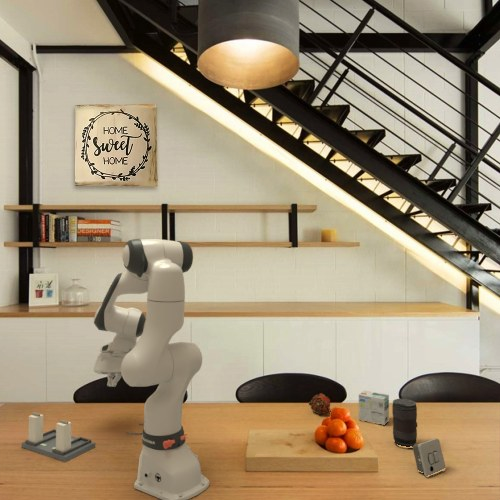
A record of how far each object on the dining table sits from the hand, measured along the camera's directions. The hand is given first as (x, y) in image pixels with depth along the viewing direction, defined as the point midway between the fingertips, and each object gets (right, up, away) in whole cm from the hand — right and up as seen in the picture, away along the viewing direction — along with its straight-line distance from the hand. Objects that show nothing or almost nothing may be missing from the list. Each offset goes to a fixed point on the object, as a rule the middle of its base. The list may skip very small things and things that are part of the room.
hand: (111, 386), depth 155 cm
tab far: (-23, -16, -10) cm, 30 cm away
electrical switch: (+106, -19, -25) cm, 110 cm away
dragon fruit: (+81, -19, +25) cm, 86 cm away
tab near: (-10, -16, -16) cm, 25 cm away
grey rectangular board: (-15, -18, -10) cm, 25 cm away
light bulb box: (+101, -19, +16) cm, 104 cm away
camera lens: (+105, -19, -6) cm, 107 cm away
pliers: (+15, -19, +5) cm, 25 cm away
